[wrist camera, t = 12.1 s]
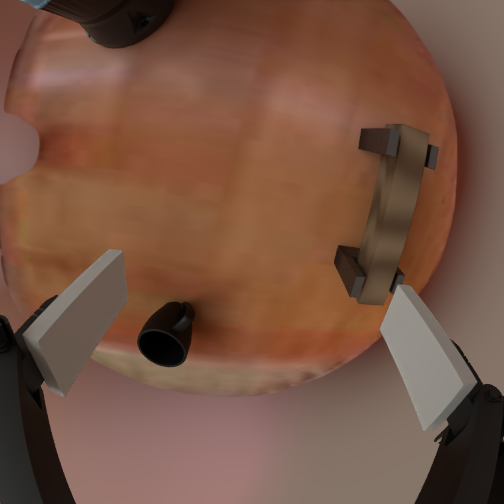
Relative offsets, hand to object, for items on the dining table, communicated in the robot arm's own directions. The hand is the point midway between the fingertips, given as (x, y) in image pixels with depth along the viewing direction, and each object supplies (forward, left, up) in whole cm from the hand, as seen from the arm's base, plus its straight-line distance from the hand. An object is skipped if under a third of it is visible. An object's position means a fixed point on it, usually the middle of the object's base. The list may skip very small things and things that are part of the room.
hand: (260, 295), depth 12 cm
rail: (0, +17, -25) cm, 30 cm away
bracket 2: (+9, +17, -29) cm, 34 cm away
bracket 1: (-9, +17, -29) cm, 34 cm away
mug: (+23, -11, -29) cm, 39 cm away
